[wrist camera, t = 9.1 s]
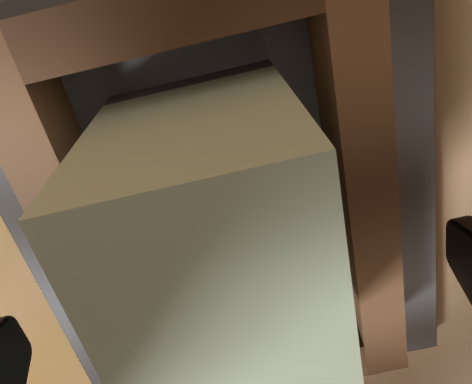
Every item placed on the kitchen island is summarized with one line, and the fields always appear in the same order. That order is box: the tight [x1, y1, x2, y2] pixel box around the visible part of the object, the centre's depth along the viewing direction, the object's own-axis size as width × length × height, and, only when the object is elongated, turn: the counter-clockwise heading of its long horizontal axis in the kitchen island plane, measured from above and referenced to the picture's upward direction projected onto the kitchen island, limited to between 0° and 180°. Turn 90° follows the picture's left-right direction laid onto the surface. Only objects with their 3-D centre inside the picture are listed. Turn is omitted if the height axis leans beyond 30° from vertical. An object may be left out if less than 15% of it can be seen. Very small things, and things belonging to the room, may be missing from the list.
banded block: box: [17, 59, 364, 384], centre depth 10 cm, size 4×7×6 cm, turn 12°
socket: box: [0, 0, 437, 384], centre depth 12 cm, size 15×12×3 cm
